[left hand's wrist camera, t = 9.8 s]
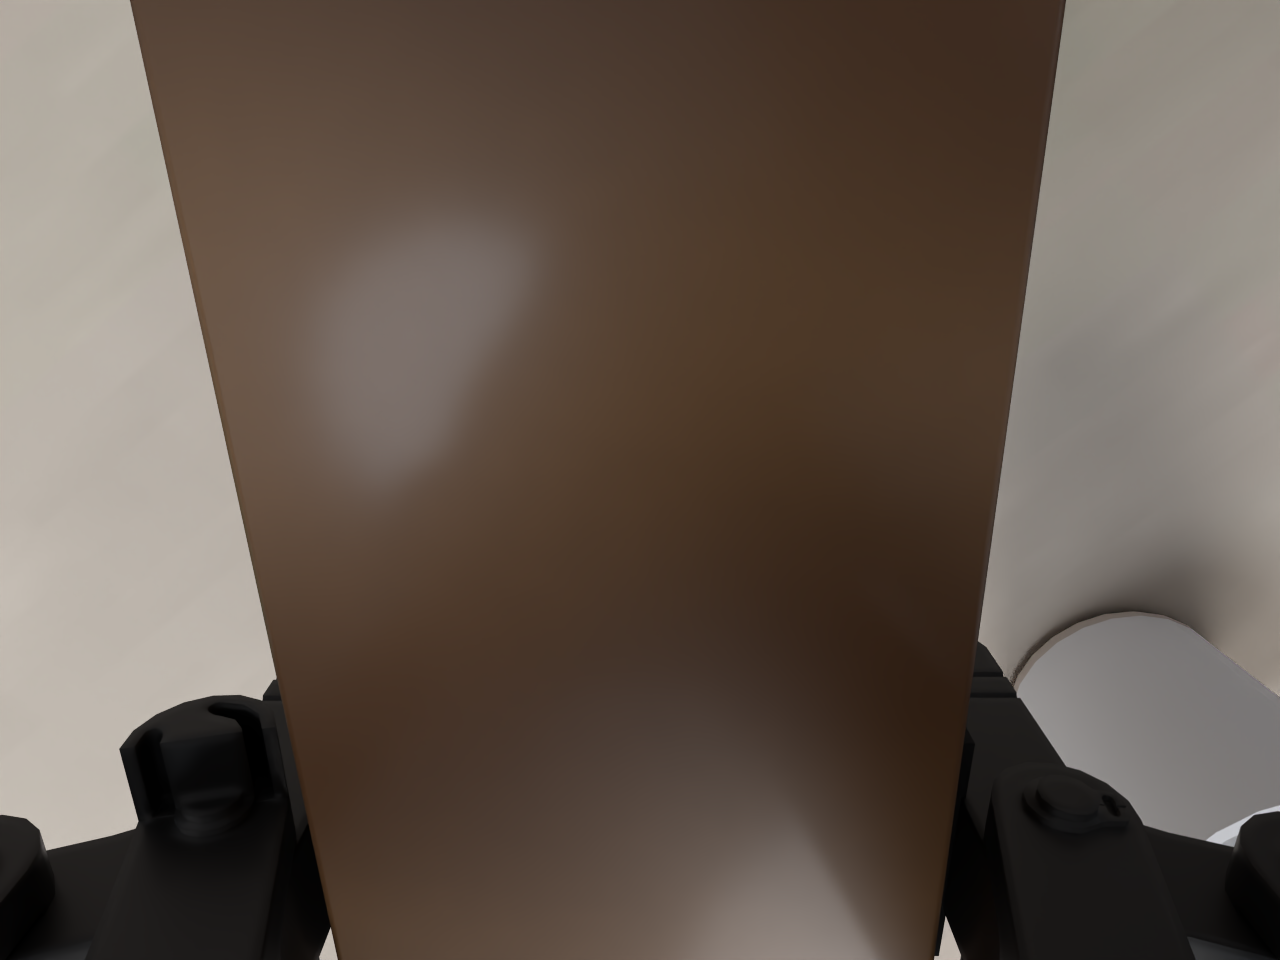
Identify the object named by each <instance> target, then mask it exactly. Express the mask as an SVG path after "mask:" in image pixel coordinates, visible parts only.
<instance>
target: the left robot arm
mask: <svg viewBox="0 0 1280 960" xmlns="http://www.w3.org/2000/svg"><path fill="white" fill-rule="evenodd" d="M119 750H120V753H121V757H122V761H123V765H124V768H125V772H126V776H127V780H128V783H129V787H130V791H131V794H132V798H133V802H134V806H135V809H136V813H137V817H138V821H139V822H138V824H137V827H136V829H133V830H130V831H126V832H123V833H120V834H116V835H113V836H109V837H104V838H100V839H96V840H91V841H87V842H82V843H78V844H74V845H69V846H65V847H60V848H56V849H51V850H47V851H46V849H45V846H44V843H43V840H42V836H41V833H40V830H39V829H38V828H37V827H35V826H34V825H33V824H32V823H31V822H29V821H28V820H27V819H25V818H19V817H13V816H7V815H0V960H320V959H319V956H320V953H321V951H322V948H323V946H324V943H325V940H326V938H327V935H328V933H329V930H330V927H331V925H330V921H329V916H328V912H327V907H326V902H325V898H324V893H323V888H322V884H321V879H320V875H319V870H318V865H317V861H316V856H315V852H314V847H313V842H312V838H311V833H310V828H309V824H308V819H307V815H306V810H305V805H304V801H303V796H302V792H301V787H300V782H299V778H298V773H297V768H296V764H295V759H294V755H293V750H292V745H291V741H290V736H289V732H288V727H287V722H286V718H285V713H284V708H283V704H282V699H281V695H280V690H279V685H278V681H277V679H276V680H273V681H272V683H271V684H270V686H269V687H268V689H267V690H266V692H265V693H264V695H263V700H262V701H261V700H258V699H254V698H250V697H246V696H242V695H222V696H210V697H206V698H201V699H197V700H193V701H188V702H184V703H182V704H179V705H177V706H175V707H173V708H170V709H168V710H166V711H163V712H161V713H159V714H156V715H155V716H154V717H152V718H151V719H149V720H148V721H146V722H145V723H144V724H142V725H141V726H139V727H138V728H137V729H135V730H134V731H133V732H132V733H131V734H130V736H129V737H128V738H127V740H126V741H125V742H124V744H123V745H122V746H121V747H120V749H119ZM945 916H946V917H947V920H948V923H949V925H950V928H951V930H952V933H953V935H954V938H955V941H956V943H957V946H958V948H959V951H960V953H961V959H960V960H1280V811H1275V812H1269V813H1262V814H1256V815H1253V816H1252V817H1251V818H1250V819H1249V820H1247V821H1246V822H1245V823H1244V824H1243V825H1242V826H1241V827H1240V830H1239V833H1238V836H1237V840H1236V843H1235V846H1234V847H1231V846H1227V845H1223V844H1218V843H1214V842H1209V841H1205V840H1200V839H1196V838H1191V837H1187V836H1182V835H1178V834H1174V833H1169V832H1166V831H1162V830H1159V829H1155V828H1152V827H1149V826H1145V825H1143V823H1142V820H1141V819H1140V817H1139V816H1138V814H1137V813H1136V811H1135V810H1134V808H1133V807H1132V805H1131V804H1130V802H1129V801H1128V800H1127V799H1126V798H1125V797H1123V796H1122V795H1121V794H1120V793H1118V792H1117V791H1116V790H1115V789H1113V788H1112V787H1111V786H1110V785H1108V784H1107V783H1105V782H1103V781H1101V780H1099V779H1097V778H1095V777H1093V776H1091V775H1089V774H1087V773H1085V772H1083V771H1081V770H1078V769H1074V768H1070V767H1066V765H1065V764H1064V762H1063V761H1062V759H1061V758H1060V756H1059V755H1058V753H1057V752H1056V750H1055V749H1054V747H1053V746H1052V744H1051V743H1050V741H1049V740H1048V738H1047V737H1046V735H1045V734H1044V733H1043V731H1042V730H1041V728H1040V727H1039V725H1038V724H1037V722H1036V721H1035V719H1034V718H1033V716H1032V715H1031V713H1030V712H1029V710H1028V709H1027V707H1026V706H1025V704H1024V703H1023V701H1022V700H1021V698H1017V692H1016V691H1015V689H1014V688H1013V686H1012V685H1011V683H1010V682H1009V680H1008V679H1007V677H1003V671H1002V670H1001V668H1000V667H999V665H998V664H997V662H996V661H995V659H994V658H993V656H992V655H991V653H990V652H989V650H988V649H987V647H985V646H984V645H982V644H981V643H980V642H977V650H976V657H975V664H974V671H973V679H972V686H971V693H970V701H969V708H968V715H967V722H966V730H965V737H964V744H963V751H962V759H961V766H960V773H959V780H958V788H957V795H956V802H955V809H954V817H953V824H952V831H951V839H950V846H949V853H948V860H947V868H946V875H945V882H944V889H943V897H942V904H941V911H940V918H939V926H938V933H937V940H936V947H935V955H934V956H939V951H940V945H941V939H942V934H943V928H944V922H945Z"/></svg>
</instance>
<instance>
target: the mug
mask: <svg viewBox="0 0 1280 960" xmlns="http://www.w3.org/2000/svg"><path fill="white" fill-rule="evenodd" d="M1013 688H1014V689H1015V691H1016V692H1017V698H1021V700H1022V701H1023V703H1024V704H1025V706H1026V707H1027V709H1028V710H1029V712H1030V713H1031V715H1032V716H1033V718H1034V719H1035V721H1036V722H1037V724H1038V725H1039V727H1040V728H1041V730H1042V731H1043V733H1044V734H1045V735H1046V737H1047V738H1048V740H1049V741H1050V743H1051V744H1052V746H1053V747H1054V749H1055V750H1056V752H1057V753H1058V755H1059V756H1060V758H1061V759H1062V761H1063V762H1064V764H1065V765H1066V767H1070V768H1074V769H1078V770H1081V771H1083V772H1085V773H1087V774H1089V775H1091V776H1093V777H1095V778H1097V779H1099V780H1101V781H1103V782H1105V783H1107V784H1108V785H1110V786H1111V787H1112V788H1113V789H1115V790H1116V791H1117V792H1118V793H1120V794H1121V795H1122V796H1123V797H1125V798H1126V799H1127V800H1128V801H1129V802H1130V804H1131V805H1132V807H1133V808H1134V810H1135V811H1136V813H1137V814H1138V816H1139V817H1140V819H1141V820H1142V823H1143V825H1145V826H1149V827H1152V828H1155V829H1159V830H1162V831H1166V832H1169V833H1174V834H1178V835H1182V836H1187V837H1191V838H1196V839H1200V840H1205V841H1209V842H1214V843H1218V844H1223V845H1227V846H1231V847H1234V846H1235V843H1236V840H1237V836H1238V833H1239V830H1240V827H1241V826H1242V825H1243V824H1244V823H1245V822H1246V821H1247V820H1249V819H1250V818H1251V817H1252V816H1253V815H1256V814H1262V813H1269V812H1275V811H1280V697H1279V696H1278V695H1276V694H1275V693H1274V692H1272V691H1271V690H1270V689H1269V688H1267V687H1266V686H1265V685H1263V684H1262V683H1261V682H1260V681H1258V680H1257V679H1256V678H1254V677H1253V676H1252V675H1251V674H1249V673H1248V672H1247V671H1245V670H1244V669H1243V668H1242V667H1240V666H1239V665H1238V664H1236V663H1235V662H1234V661H1233V660H1231V659H1230V658H1229V657H1227V656H1226V655H1225V654H1224V653H1222V652H1221V651H1220V650H1218V649H1217V648H1216V647H1215V646H1213V645H1212V644H1211V643H1209V642H1208V641H1207V640H1206V639H1204V638H1203V637H1202V636H1200V635H1199V634H1198V633H1197V632H1195V631H1194V630H1193V629H1191V628H1190V627H1189V626H1188V625H1186V624H1184V623H1181V622H1179V621H1177V620H1174V619H1172V618H1169V617H1167V616H1165V615H1159V614H1151V613H1144V612H1135V611H1130V612H1121V613H1111V614H1103V615H1100V616H1097V617H1094V618H1091V619H1088V620H1085V621H1082V622H1079V623H1076V624H1074V625H1073V626H1071V627H1069V628H1067V629H1066V630H1064V631H1062V632H1060V633H1059V634H1057V635H1055V636H1053V637H1052V638H1051V639H1050V640H1049V641H1048V642H1046V643H1045V644H1044V645H1043V646H1042V647H1041V648H1040V649H1039V650H1037V651H1036V652H1035V653H1034V654H1033V655H1032V656H1031V658H1030V659H1029V661H1028V662H1027V663H1026V665H1025V666H1024V668H1023V669H1022V671H1021V672H1020V673H1019V675H1018V676H1017V679H1016V682H1015V685H1014V687H1013Z"/></svg>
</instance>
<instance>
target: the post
mask: <svg viewBox="0 0 1280 960" xmlns="http://www.w3.org/2000/svg"><path fill="white" fill-rule="evenodd" d="M130 2H131V7H132V11H133V16H134V21H135V25H136V30H137V35H138V39H139V44H140V48H141V53H142V58H143V62H144V67H145V71H146V76H147V81H148V85H149V90H150V95H151V99H152V104H153V108H154V113H155V118H156V122H157V127H158V131H159V136H160V141H161V145H162V150H163V155H164V159H165V164H166V168H167V173H168V178H169V182H170V187H171V191H172V196H173V201H174V205H175V210H176V215H177V219H178V224H179V228H180V233H181V238H182V242H183V247H184V251H185V256H186V261H187V265H188V270H189V275H190V279H191V284H192V288H193V293H194V298H195V302H196V307H197V311H198V316H199V321H200V325H201V330H202V335H203V339H204V344H205V348H206V353H207V358H208V362H209V367H210V371H211V376H212V381H213V385H214V390H215V395H216V399H217V404H218V408H219V413H220V418H221V422H222V427H223V431H224V436H225V441H226V445H227V450H228V455H229V459H230V464H231V468H232V473H233V478H234V482H235V487H236V492H237V496H238V501H239V505H240V510H241V515H242V519H243V524H244V528H245V533H246V538H247V542H248V547H249V552H250V556H251V561H252V565H253V570H254V575H255V579H256V584H257V588H258V593H259V598H260V602H261V607H262V612H263V616H264V621H265V625H266V630H267V635H268V639H269V644H270V648H271V653H272V658H273V662H274V667H275V672H276V676H277V681H278V685H279V690H280V695H281V699H282V704H283V708H284V713H285V718H286V722H287V727H288V732H289V736H290V741H291V745H292V750H293V755H294V759H295V764H296V768H297V773H298V778H299V782H300V787H301V792H302V796H303V801H304V805H305V810H306V815H307V819H308V824H309V828H310V833H311V838H312V842H313V847H314V852H315V856H316V861H317V865H318V870H319V875H320V879H321V884H322V888H323V893H324V898H325V902H326V907H327V912H328V916H329V921H330V925H331V930H332V935H333V939H334V944H335V948H336V953H337V958H338V960H934V955H935V947H936V940H937V933H938V926H939V918H940V911H941V904H942V897H943V889H944V882H945V875H946V868H947V860H948V853H949V846H950V839H951V831H952V824H953V817H954V809H955V802H956V795H957V788H958V780H959V773H960V766H961V759H962V751H963V744H964V737H965V730H966V722H967V715H968V708H969V701H970V693H971V686H972V679H973V671H974V664H975V657H976V650H977V642H978V635H979V628H980V621H981V613H982V606H983V599H984V592H985V584H986V577H987V570H988V562H989V555H990V548H991V541H992V533H993V526H994V519H995V512H996V504H997V497H998V490H999V483H1000V475H1001V468H1002V461H1003V454H1004V446H1005V439H1006V432H1007V424H1008V417H1009V410H1010V403H1011V395H1012V388H1013V381H1014V374H1015V366H1016V359H1017V352H1018V345H1019V337H1020V330H1021V323H1022V315H1023V308H1024V301H1025V294H1026V286H1027V279H1028V272H1029V265H1030V257H1031V250H1032V243H1033V236H1034V228H1035V221H1036V214H1037V207H1038V199H1039V192H1040V185H1041V177H1042V170H1043V163H1044V156H1045V148H1046V141H1047V134H1048V127H1049V119H1050V112H1051V105H1052V98H1053V90H1054V83H1055V76H1056V69H1057V61H1058V54H1059V47H1060V39H1061V32H1062V25H1063V18H1064V10H1065V3H1066V0H130Z"/></svg>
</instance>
